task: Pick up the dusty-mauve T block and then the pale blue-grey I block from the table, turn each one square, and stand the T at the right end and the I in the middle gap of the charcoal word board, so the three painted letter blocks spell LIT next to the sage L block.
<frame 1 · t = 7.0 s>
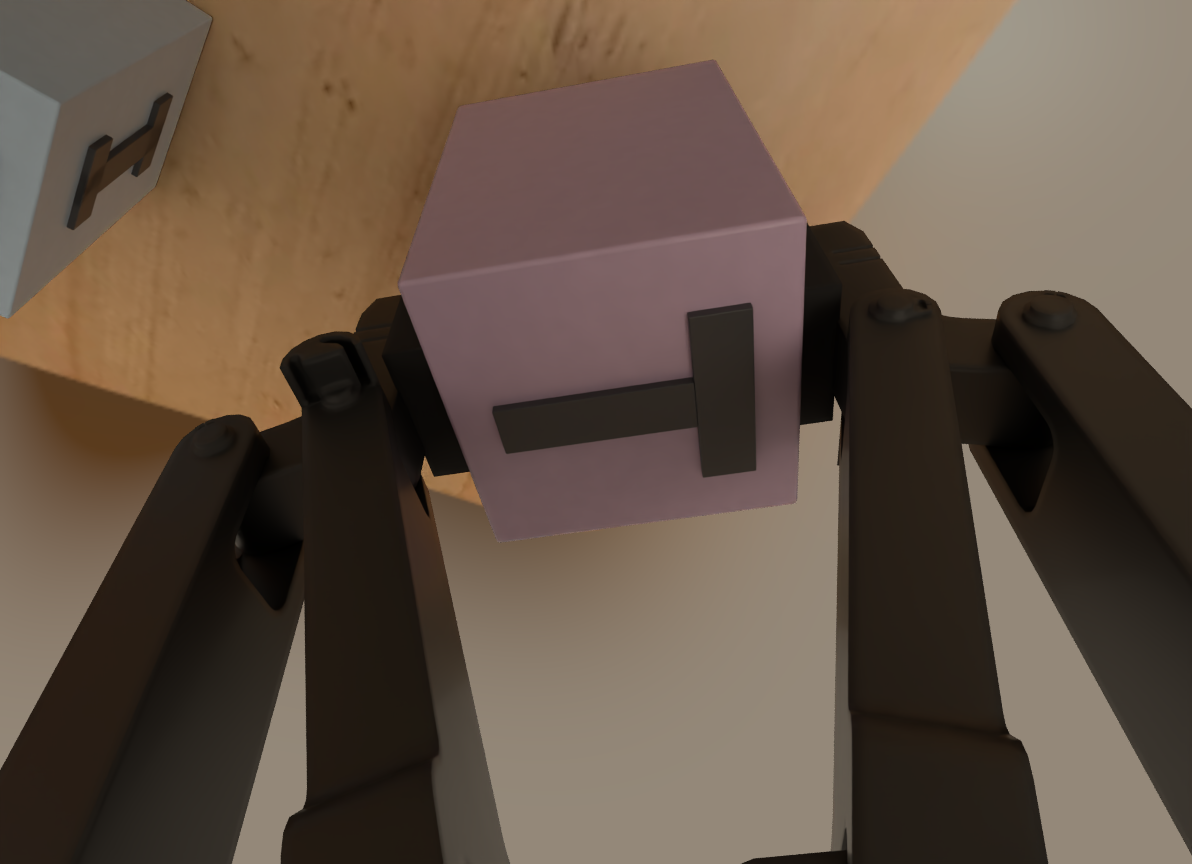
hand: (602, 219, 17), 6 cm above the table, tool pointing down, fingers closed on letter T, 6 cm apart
letter I: (74, 45, 19), on the table
letter T: (604, 206, 17), point 5 cm above the table, touching gripper
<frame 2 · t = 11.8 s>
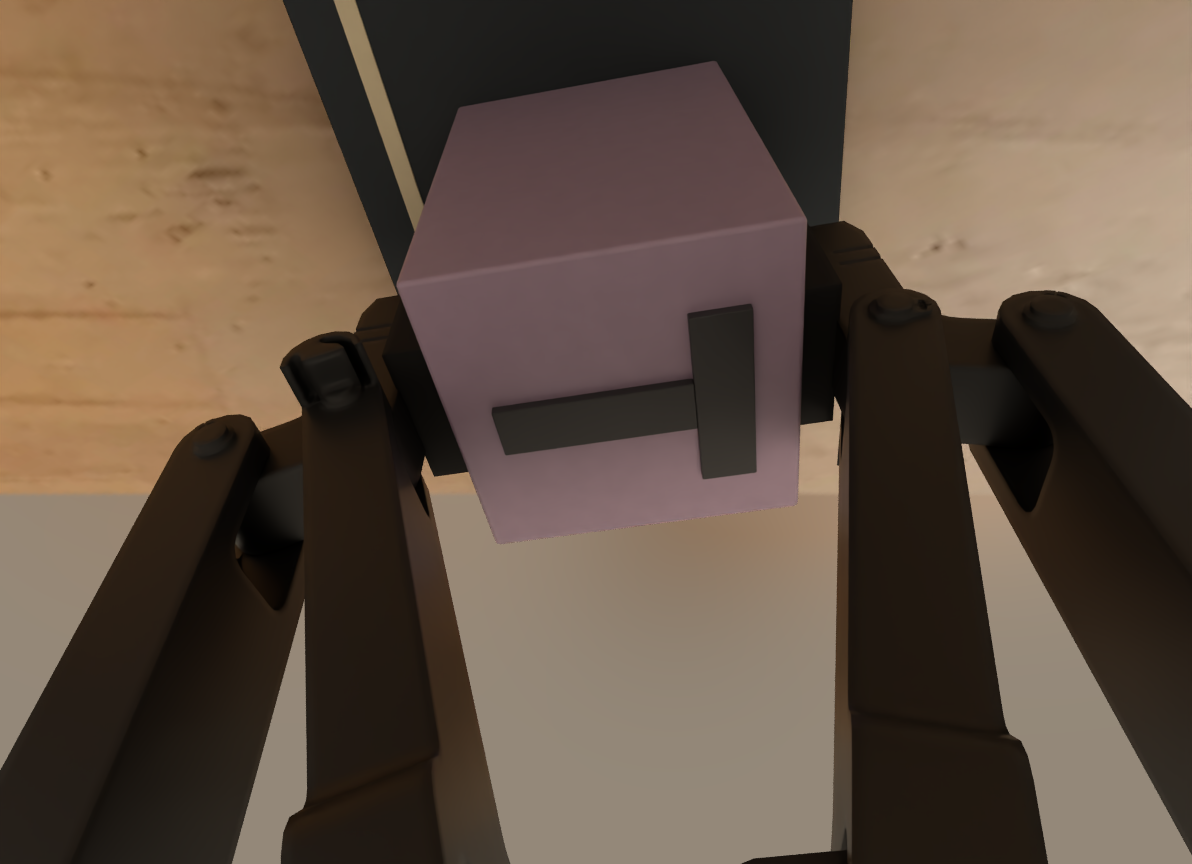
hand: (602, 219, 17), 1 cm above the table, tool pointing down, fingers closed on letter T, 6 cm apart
letter T: (605, 207, 17), point 1 cm above the table, touching gripper, word board
when the fingers open (1 cm above the table, at t = 12.0 s): letter T stays where it is, resting on word board.
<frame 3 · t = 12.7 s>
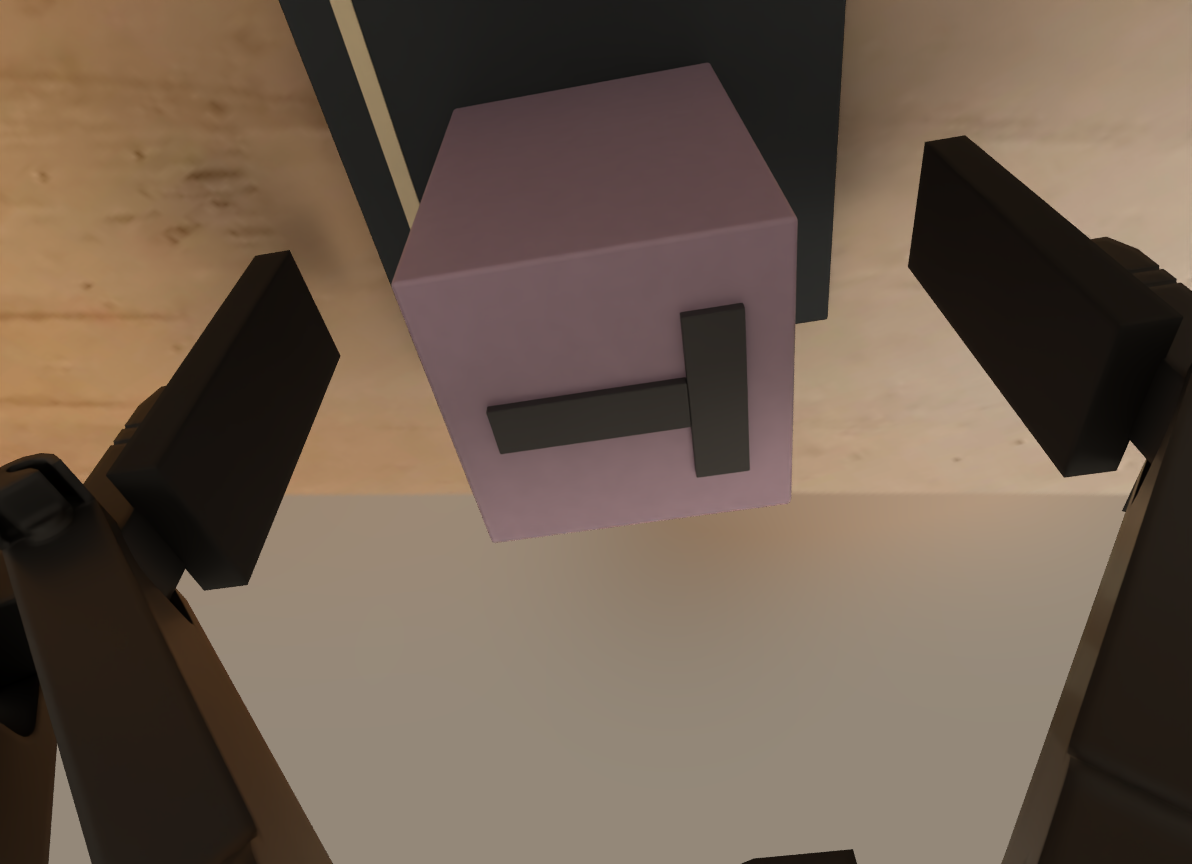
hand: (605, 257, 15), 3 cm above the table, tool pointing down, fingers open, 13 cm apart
letter T: (599, 208, 17), resting on word board
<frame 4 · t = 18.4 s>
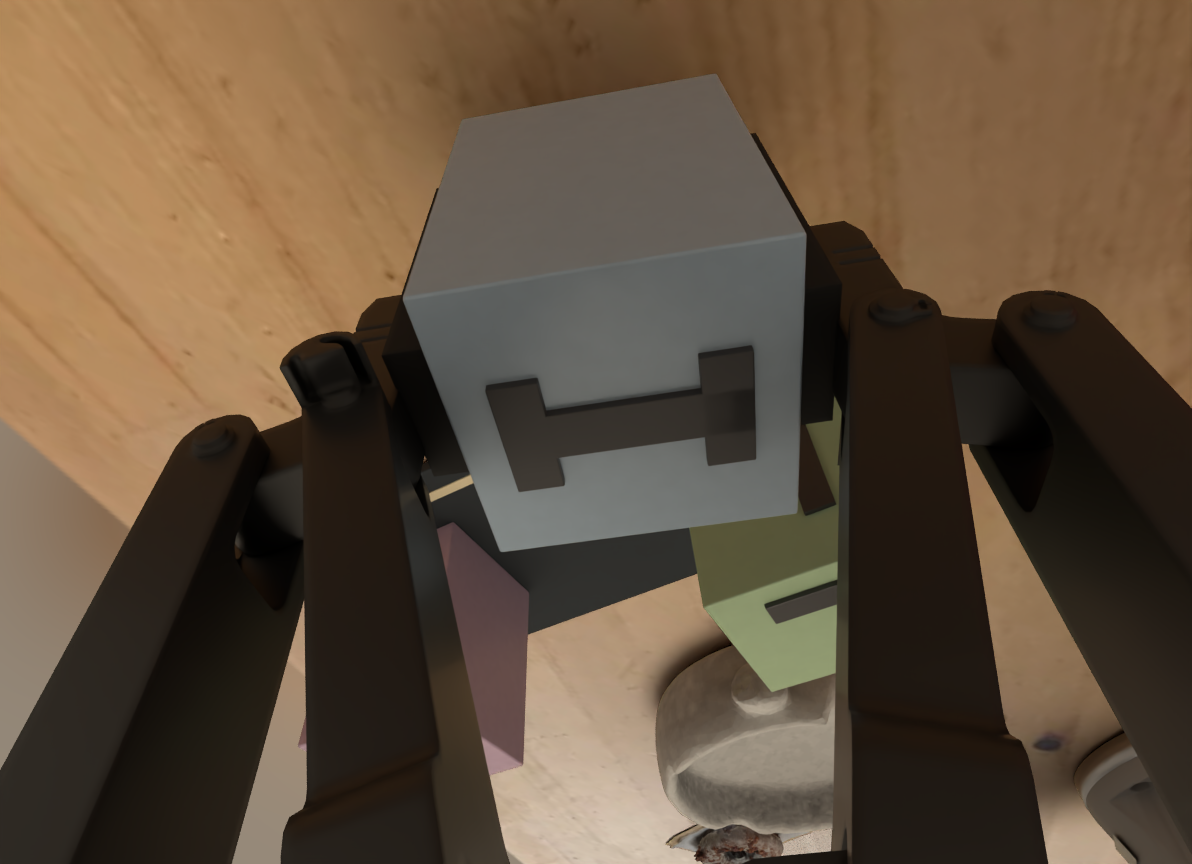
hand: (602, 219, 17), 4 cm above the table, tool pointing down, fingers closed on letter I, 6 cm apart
letter L: (771, 446, 26), resting on word board
donut: (739, 832, 53), on the table
dish: (772, 694, 40), on the table
word board: (590, 509, 29), on the table
letter I: (606, 217, 17), point 3 cm above the table, touching gripper
letter T: (439, 580, 31), resting on word board
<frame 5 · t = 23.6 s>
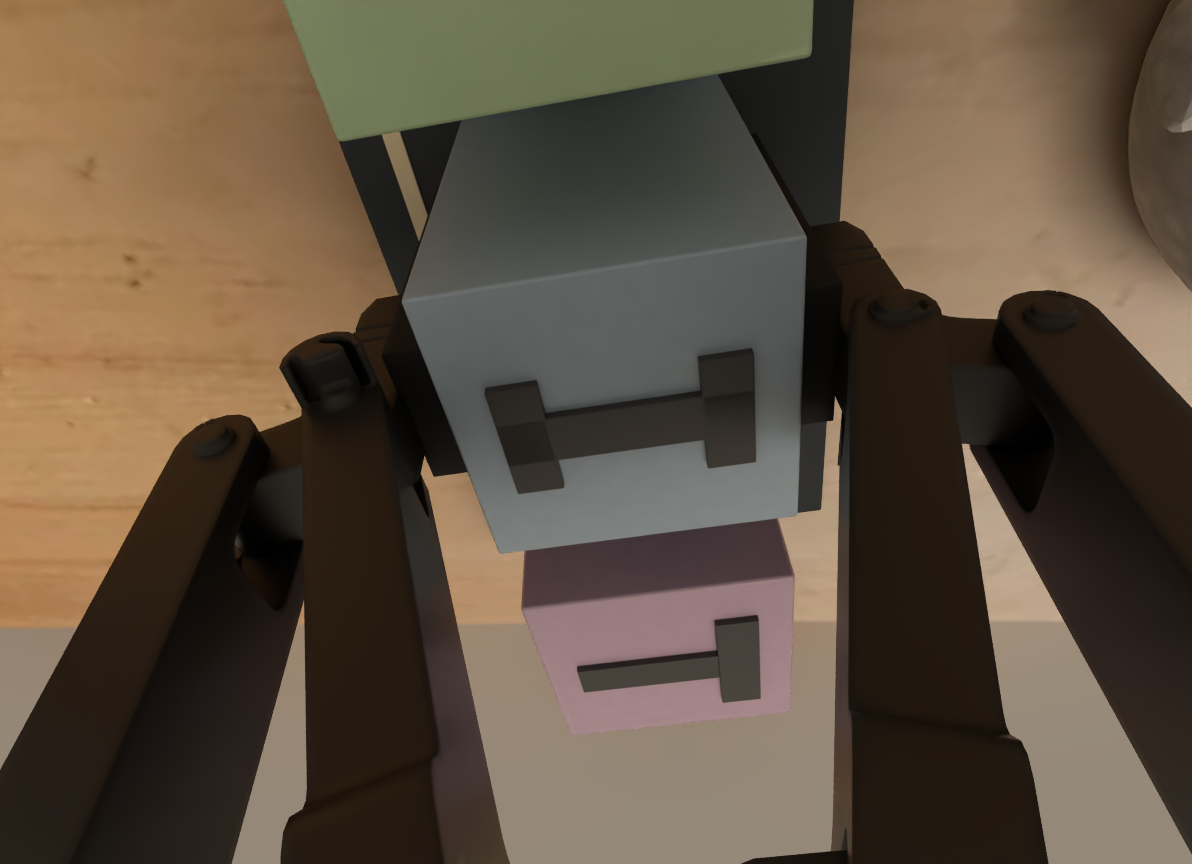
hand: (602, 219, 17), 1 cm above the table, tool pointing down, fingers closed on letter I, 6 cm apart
word board: (604, 203, 17), on the table
letter I: (606, 217, 17), resting on word board, touching gripper
letter T: (642, 442, 22), resting on word board
when the fingers open (1 cm above the table, at t = 23.8 s): letter I stays where it is, resting on word board.
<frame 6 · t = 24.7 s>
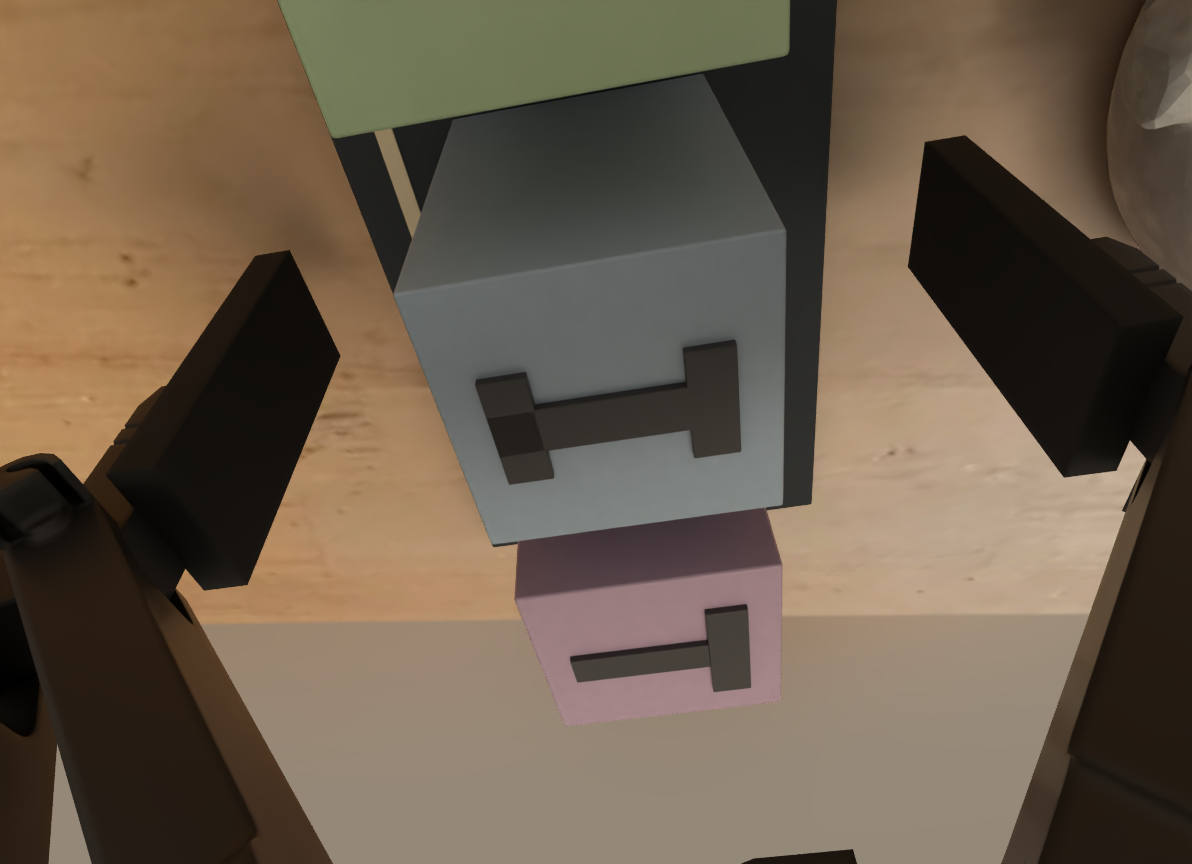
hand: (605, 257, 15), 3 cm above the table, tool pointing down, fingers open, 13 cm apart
word board: (595, 201, 18), on the table
letter I: (596, 215, 17), resting on word board
letter T: (634, 438, 22), resting on word board
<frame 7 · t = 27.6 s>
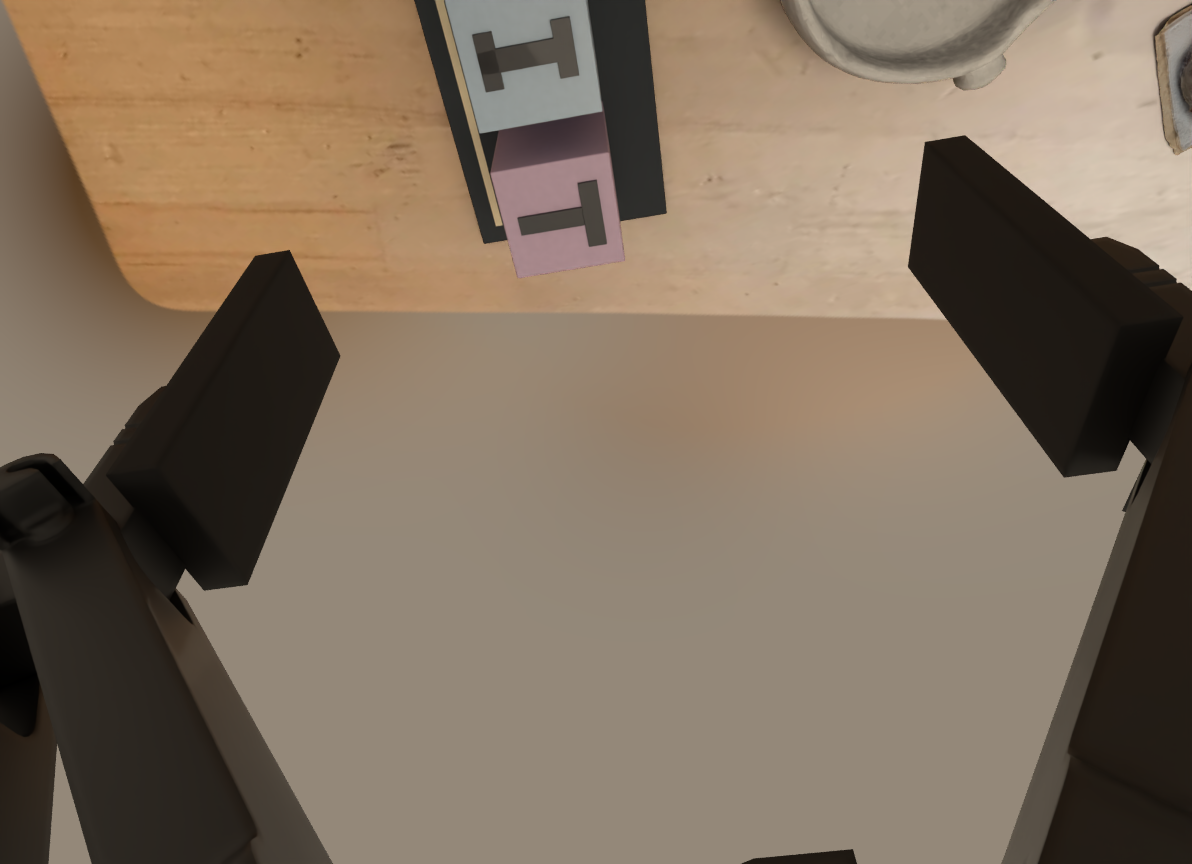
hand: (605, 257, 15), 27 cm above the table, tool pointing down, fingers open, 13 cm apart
word board: (532, 9, 36), on the table
letter I: (532, 14, 35), resting on word board
letter T: (561, 160, 40), resting on word board
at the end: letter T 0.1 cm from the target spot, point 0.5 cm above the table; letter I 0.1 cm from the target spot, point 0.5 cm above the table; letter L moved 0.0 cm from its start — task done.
